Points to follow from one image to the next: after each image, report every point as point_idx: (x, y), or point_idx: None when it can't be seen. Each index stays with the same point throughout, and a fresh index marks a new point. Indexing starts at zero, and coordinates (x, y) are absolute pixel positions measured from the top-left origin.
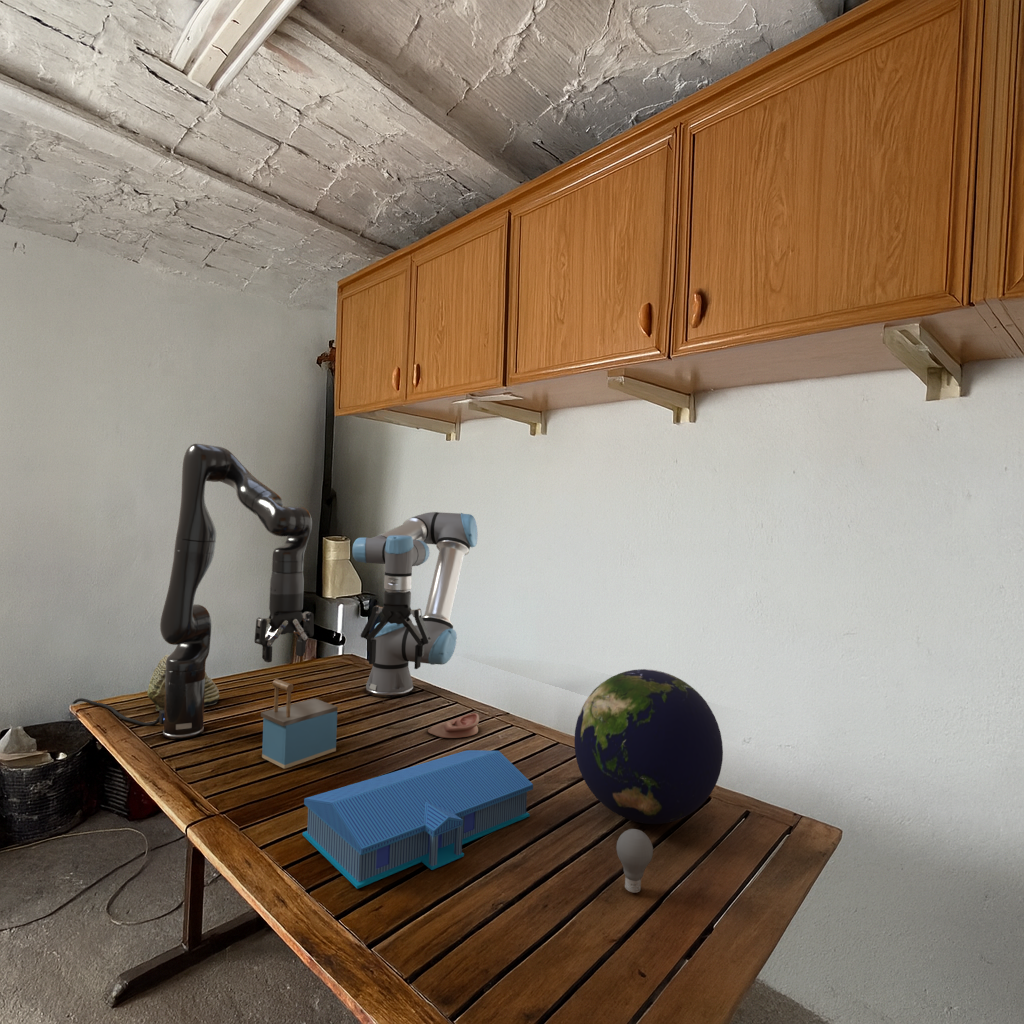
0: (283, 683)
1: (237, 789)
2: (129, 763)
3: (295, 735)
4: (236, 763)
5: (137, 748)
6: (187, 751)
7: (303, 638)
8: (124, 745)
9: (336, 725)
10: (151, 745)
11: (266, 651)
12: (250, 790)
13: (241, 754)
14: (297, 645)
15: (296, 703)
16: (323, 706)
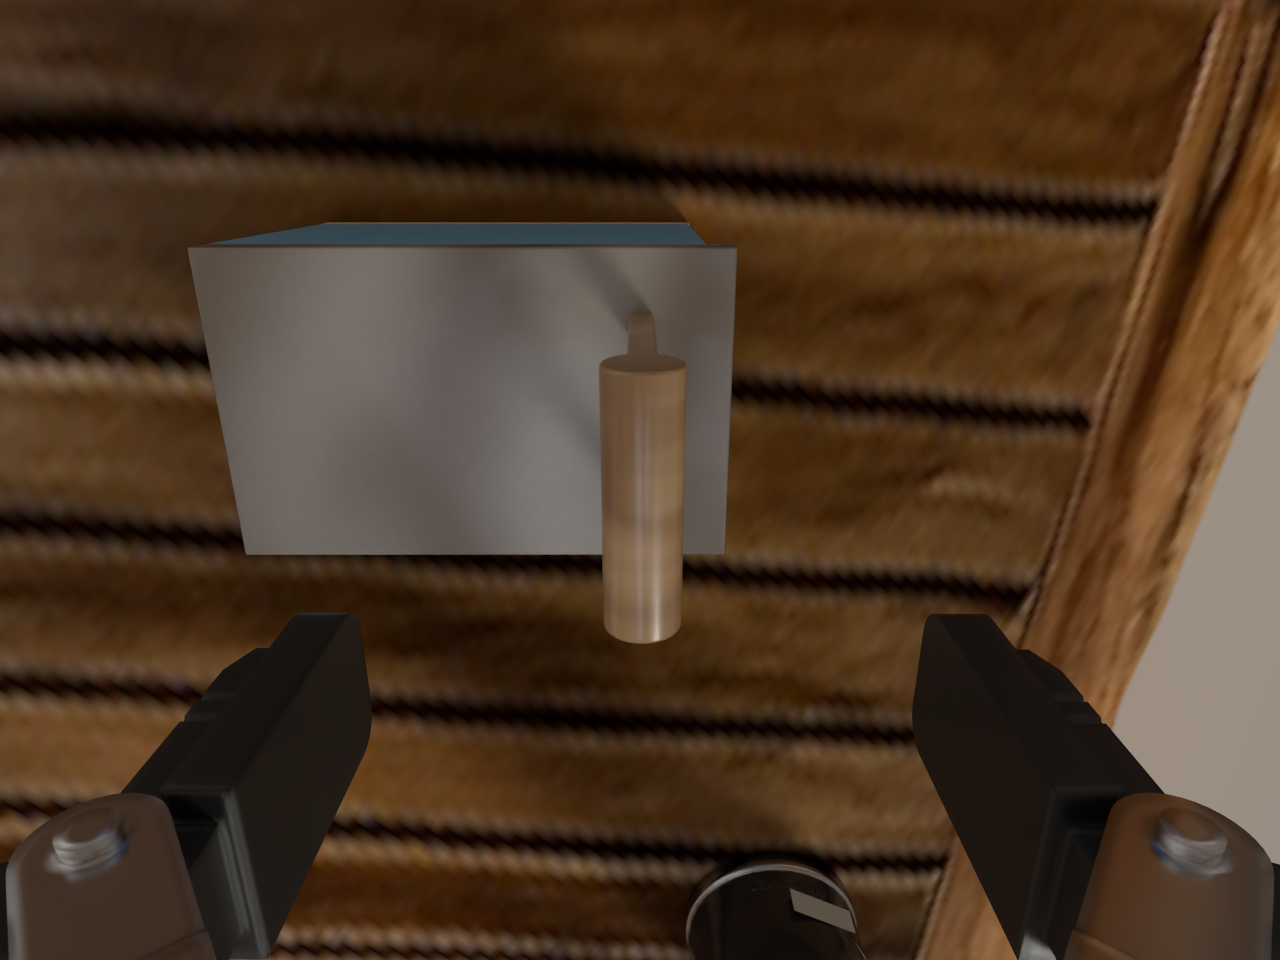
0: (667, 471)
1: (1001, 177)
2: None
3: (619, 235)
4: (810, 470)
5: (982, 888)
6: (872, 739)
7: (151, 836)
8: (994, 942)
9: (264, 234)
10: (929, 882)
11: (1116, 753)
12: (970, 110)
13: (729, 549)
14: (307, 830)
15: (423, 544)
16: (285, 338)
